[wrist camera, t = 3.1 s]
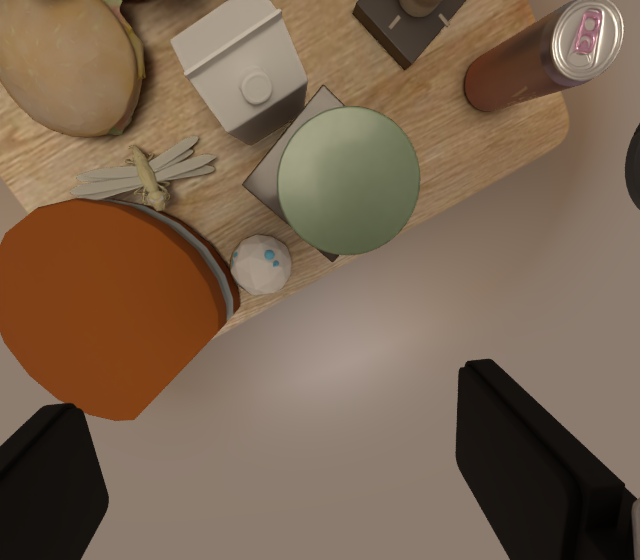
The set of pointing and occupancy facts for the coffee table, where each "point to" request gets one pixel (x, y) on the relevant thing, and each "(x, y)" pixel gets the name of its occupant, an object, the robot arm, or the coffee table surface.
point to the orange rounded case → (109, 301)
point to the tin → (348, 180)
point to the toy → (145, 174)
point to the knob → (419, 7)
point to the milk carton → (244, 67)
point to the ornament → (261, 264)
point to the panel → (403, 26)
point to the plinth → (265, 173)
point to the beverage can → (548, 55)
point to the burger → (71, 64)
